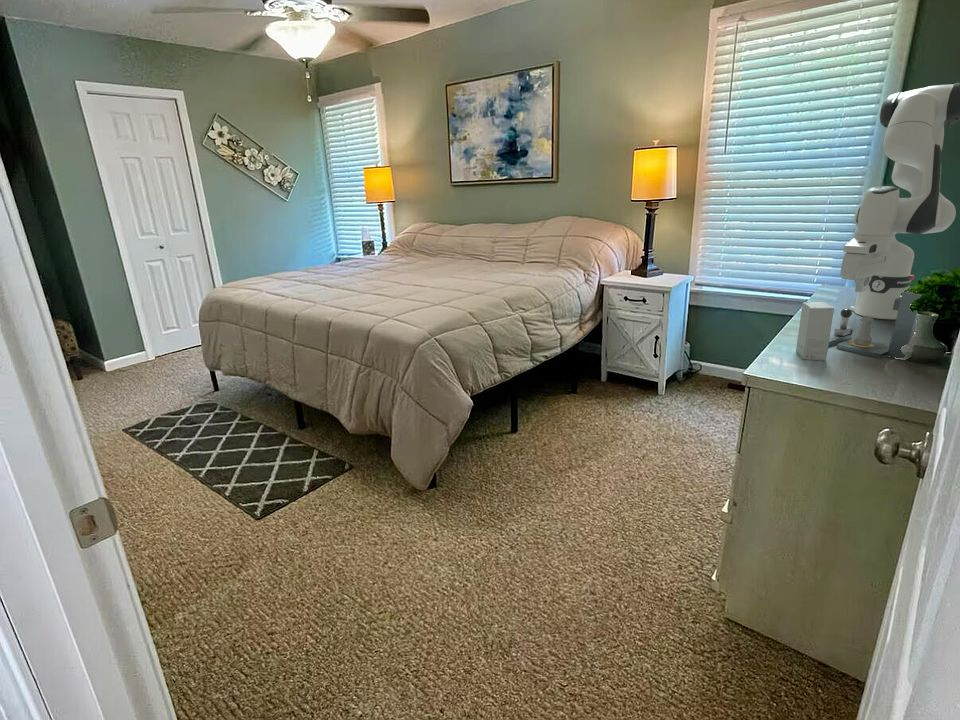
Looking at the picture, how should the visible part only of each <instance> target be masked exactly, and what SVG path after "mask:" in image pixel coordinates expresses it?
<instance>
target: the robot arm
mask: <svg viewBox="0 0 960 720" xmlns="http://www.w3.org/2000/svg"><path fill="white" fill-rule="evenodd" d="M959 121H960V82H955V83H954V84H938V85H937V84H936V85H929V86H926V87H919V88H916V89H915V88H914V89H911V90H907V91H904V92H903V91H900V92H896V93H893V94H890V95H888V97H886V98H885V99H884V101H883V102H882V105H881V106H880V110H879V122H880V124H881V126H883V127H884V128H886V131H885V134H884V139H883V143H882V150H883V153H884V154H885V155H886V156H887V158H888V159H889V160H891V161H893V162H894V165H893V169H892V173H891V181H892V183H893V184H894V185H895V186H893V185H892V186H891V185H881V186H880V185H879V186H873V187H870V188H867V190H866V192H865V194H864V196H863V199H862V201H861V204H860V205H859V207H857V209H856V211H855V213H854V219H853V220H854V224H855V225H856V229H855V232H854V234H853V238H852V239H850V241H848V243H846V244H845V245H844V246H843V250H842V252H843V253H844V255H843V256H842V262H841V267H840V277H841V279H842V280H849V281H854V284H855V288H854V291H855V292H857V297H856V300H855V304H854V305H852V306H850V307H849V309H850V310H851V311H852V312H854V313H855V314H856V315H859V316H865V317H866V316H869V317H870V316H872V317H873V319H880V320H896V318H897V314H898V311H897V310H893V306H894V302H895V299H896V298H900V295H901V293H902V292H904V291H905V290H907V289H908V288H909V287H910V286H911V282H912V281H913V280H914V278H915V275H914V274H911V272H912V267H913V264H914V261H915V260H914V259H915V252H914V250H913V249H912V248H911V247H910V246H908V245H906V244H904V243H902V242H900V241H899V240H897V238H896V234H914V235H915V234H916V235H925V234H934V233H941V232H944V231H945V230H947V229H948V228H949V227H951V225H952V224H953V222H955V218H956V215H957V214H956V213H957V211H956V207H955V205H954V204H953V202H952V201H951V200H949V199H948V198H946V197H945V196H944V195H943V194H942V193H941V191H940V190H941V177H942V151H943V146H944V138H945V125H946V128H947V129H950V128H951V127H952V126H953V125H954V124H955V123H956V122H959ZM896 186H897V187H896ZM900 189H903V190H905V191H907V192H909V193H910V197H900Z"/></svg>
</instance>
